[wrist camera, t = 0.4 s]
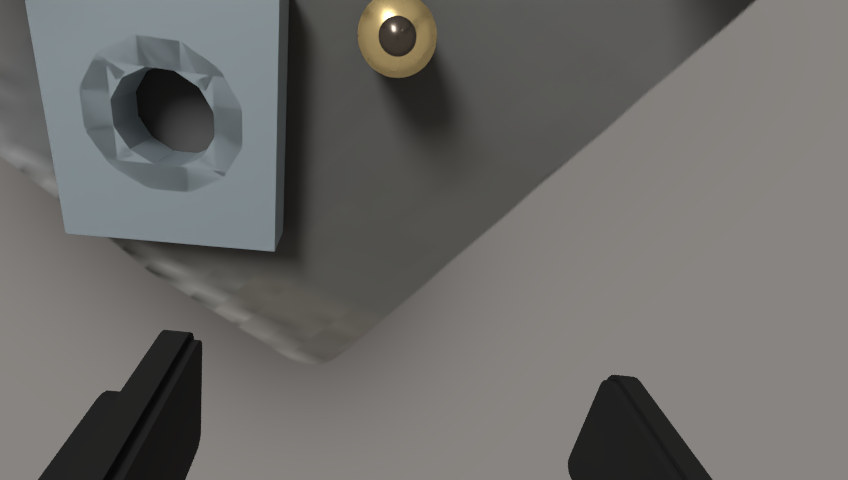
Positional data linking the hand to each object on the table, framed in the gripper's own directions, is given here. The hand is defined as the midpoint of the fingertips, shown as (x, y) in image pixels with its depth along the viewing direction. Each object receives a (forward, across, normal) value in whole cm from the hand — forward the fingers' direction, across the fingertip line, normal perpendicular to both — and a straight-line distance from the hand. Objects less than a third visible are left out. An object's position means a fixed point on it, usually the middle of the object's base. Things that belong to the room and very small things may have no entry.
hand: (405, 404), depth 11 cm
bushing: (+32, 0, -7) cm, 33 cm away
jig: (+33, +16, +2) cm, 36 cm away
